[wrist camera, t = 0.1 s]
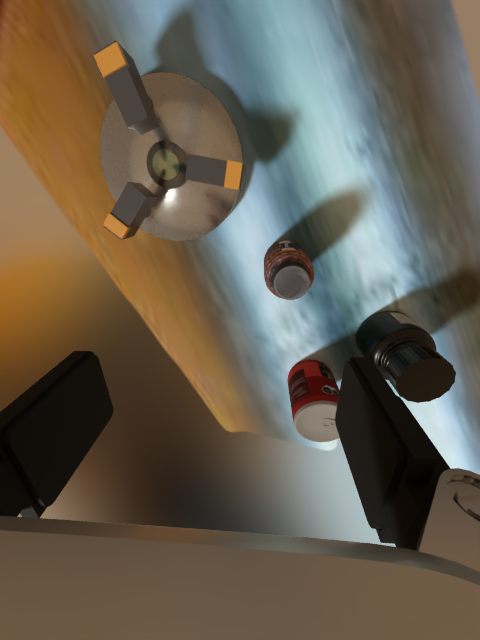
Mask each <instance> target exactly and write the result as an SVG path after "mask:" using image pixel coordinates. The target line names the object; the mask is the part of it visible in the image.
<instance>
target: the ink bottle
mask: <svg viewBox="0 0 480 640" xmlns="http://www.w3.org/2000/svg"><path fill="white" fill-rule="evenodd" d="M356 341H357V346H358V348H359V350H360V351H361V353H362V354H363V356H364V357H369V358H370V359H371V360H372V361H373V363H374V364H375V366H376V367H377V369H378V370H379V372H380V373H381V374H382V376H383V377H384V379H386V380H389V381H390V383H391V384H392V385H393V387H394V388H395V390H396V391H397V393H398V394H399V395H400V396H401V397H403V398H404V399H406V400H407V401H413V402H417V403H419V402H426V401H427V402H428V401H431V400H433V399H436V398H439V397H441V396H442V395H443V394H444V393H446V392H447V391H449V390H450V388H451V386H452V385H453V383H454V382H455V375H456V372H455V371H454V368H453V366H452V365H451V364H450V363H449V362H448V361H447V360H446V359H445V358H443V357H442V356H441V355H440V354H439V353H438V352H437V351H436V345H435V342H434V340H433V338H432V337H431V336H430V335H429V334H428V333H427V332H426V331H425V330H424V329H422V328H421V327H420V326H419V325H417V324H416V323H415V322H414V321H412V320H411V319H410V318H409V317H407V316H406V315H404V314H403V313H400V312H397V311H385V312H381V313H378V314H375V315H373V316H371V317H370V318H368V319H367V320H366V321H364V322H363V323H362V325H361V326H360V327H359V329H358V332H357V336H356Z"/></svg>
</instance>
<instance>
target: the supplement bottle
mask: <svg viewBox="0 0 480 640" xmlns="http://www.w3.org/2000/svg"><path fill="white" fill-rule="evenodd" d="M264 276H265V282H266V285H267V287H268V289H269V290H270V291H271V292H272V293H273V294H274V295H276V296H277V297H280V298H282V299H287V300H295V299H298V298H300V297H302V296H303V295H304V294H305V293H306V292H307V291H308V290H309V288H310V287H311V285H312V283H313V280H314V268H313V265H312V262H311V261H310V259H309V258H308V256H307V255H306V254H305V252H304V251H303V250H302V248H301V247H300V246H299V245H298V244H296V243H295V242H292V241H288V240H283V241H279V242H276V243H274V244H273V245H272V246H271V247H270V248H269V249H268V250H267V252H266V254H265V258H264Z"/></svg>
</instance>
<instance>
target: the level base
mask: <svg viewBox="0 0 480 640" xmlns="http://www.w3.org/2000/svg"><path fill="white" fill-rule="evenodd" d="M141 80H142V82H143V85H144V87H145V90H146V92H147V95H149V96H150V98H151V99H152V101H153V105H154V107H153V110H154V112H155V114H156V117H157V119H158V122H159V124H160V126H159V127H157V128H155V129H153V130H151V131H149V132H147V133H145V134H143V135H140V134H138V133H136V132H134V131H133V130H131V129H129V128H127V126H126V124H125V121H124V119H123V117H122V115H121V112H120V110H119V108H118V106H117V103H116V101H115V99H114V100H113V101H112V103H111V105H110V107H109V109H108V111H107V113H106V115H105V118H104V121H103V125H102V130H101V135H100V159H101V166H102V170H103V174H104V178H105V181H106V184H107V186H108V189H109V191H110V193H111V195H112V197H113V199H114V200H115V202H117V201H118V199H119V197H120V195H121V193H122V192H123V190H124V188H125V186H126V184H127V182H135V183H141V184H143V185H144V186H145V187H146V188H147V189H149V190H150V191H151V192H152V193H153V194H154V195H156V196H157V197H158V198H157V199H156V201H155V202H154V204H153V206H152V207H151V214H150V216H149V217H147V218H145V219H144V220H143V222H142V224H141V225H140V227H139V228H141V229H143V230H144V231H146V232H148V233H150V234H152V235H154V236H156V237H159V238H162V239H167V240H175V241H183V240H190V239H195V238H198V237H201V236H203V235H205V234H207V233H209V232H210V231H212V230H213V229H215V228H216V227H217V226H219V225H220V224H221V223H222V222H223V221H224V220H225V219H226V217H227V216H228V215H229V214H230V212H231V211H232V209H233V207H234V205H235V203H236V201H237V199H238V196H239V193H240V190H236V189H231V188H225V187H221V186H216V185H211V184H205V183H200V182H195V181H190V180H186V168H187V153H188V154H194V155H199V156H204V157H209V158H215V159H220V160H225V161H227V160H229V161H234V162H239V163H243V154H242V148H241V144H240V140H239V137H238V134H237V131H236V129H235V126H234V124H233V122H232V120H231V118H230V116H229V114H228V112H227V111H226V109H225V108H224V106H223V105H222V104H221V102H220V101H219V100H218V99H217V98H216V97H215V96H214V95H213V94H212V93H211V92H210V91H209V90H208V89H207V88H205V87H204V86H203V85H201V84H200V83H198V82H196V81H195V80H193V79H191V78H188V77H186V76H183V75H180V74H175V73H167V72H159V73H151V74H148V75H145V76H141Z"/></svg>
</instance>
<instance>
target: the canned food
mask: <svg viewBox="0 0 480 640" xmlns="http://www.w3.org/2000/svg"><path fill="white" fill-rule="evenodd" d="M288 387H289V394H290V401H291V408H292V415H293V421H294V425H295V428H296V431H297V432H298V433H299V434H300V435H301V436H302V437H304V438H305V439H308V440H311V441H315V442H328V441H332V440H335V439H338V438H340V437H339V434H338V431H337V428H336V424H335V415H336V409H337V404H338V398H339V393H340V391H339V388H338V386H337V384H336V381H335V379H334V376H333V374H332V372H331V370H330V369H329V368H328V367H327V366H326V365H324V364H323V363H321V362H318V361H313V360H307V361H303V362H300V363H298V364H296V365H295V366H294V367H293V368H292V369H291V370H290V372H289V375H288Z"/></svg>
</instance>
